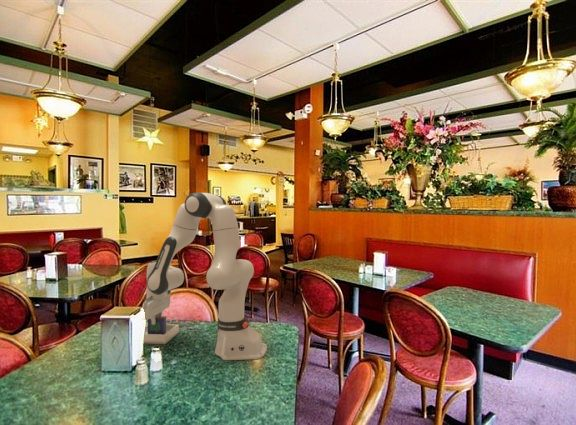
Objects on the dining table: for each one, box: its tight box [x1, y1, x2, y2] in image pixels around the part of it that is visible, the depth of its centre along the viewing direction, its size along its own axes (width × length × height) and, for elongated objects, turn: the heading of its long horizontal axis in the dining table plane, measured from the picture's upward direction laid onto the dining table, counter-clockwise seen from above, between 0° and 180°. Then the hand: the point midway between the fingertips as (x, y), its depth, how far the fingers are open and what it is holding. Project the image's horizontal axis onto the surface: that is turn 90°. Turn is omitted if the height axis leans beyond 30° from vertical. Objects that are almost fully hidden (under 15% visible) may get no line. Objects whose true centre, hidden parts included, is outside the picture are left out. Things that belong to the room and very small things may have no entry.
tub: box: [143, 323, 180, 345], centre depth 152 cm, size 16×14×4 cm
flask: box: [147, 314, 167, 335], centre depth 152 cm, size 9×3×11 cm, turn 83°
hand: (156, 322), depth 152 cm, fingers closed on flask, 3 cm apart
